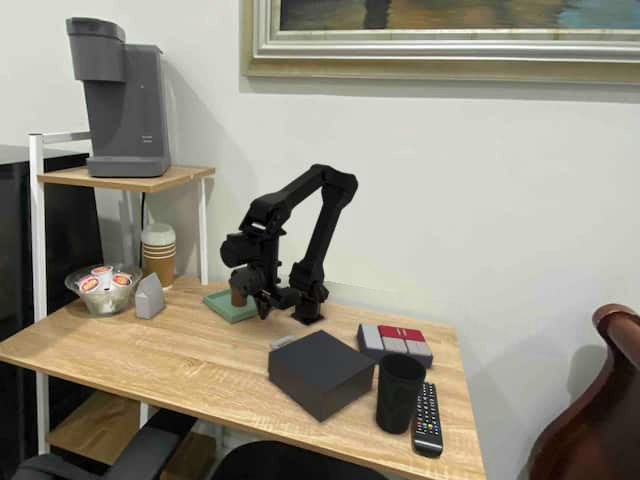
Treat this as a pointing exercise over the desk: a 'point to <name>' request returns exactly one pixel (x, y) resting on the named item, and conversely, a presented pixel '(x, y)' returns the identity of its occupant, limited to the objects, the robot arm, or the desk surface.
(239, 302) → the pod
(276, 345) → the drawer
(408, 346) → the red and grey box
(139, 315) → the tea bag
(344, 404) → the dark grey box
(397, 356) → the cup
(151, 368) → the desk surface
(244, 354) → the desk surface
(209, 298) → the tray
